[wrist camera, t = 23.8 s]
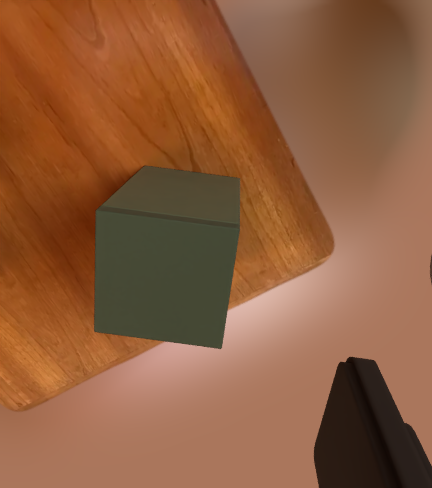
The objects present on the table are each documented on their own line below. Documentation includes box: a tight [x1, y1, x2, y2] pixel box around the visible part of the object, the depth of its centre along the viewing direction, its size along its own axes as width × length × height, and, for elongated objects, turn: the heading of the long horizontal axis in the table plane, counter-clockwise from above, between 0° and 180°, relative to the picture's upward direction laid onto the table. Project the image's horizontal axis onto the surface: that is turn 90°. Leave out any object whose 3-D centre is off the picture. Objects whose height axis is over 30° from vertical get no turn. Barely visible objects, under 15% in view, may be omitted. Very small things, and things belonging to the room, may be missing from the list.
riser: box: [94, 166, 240, 349], centre depth 34 cm, size 9×9×14 cm
